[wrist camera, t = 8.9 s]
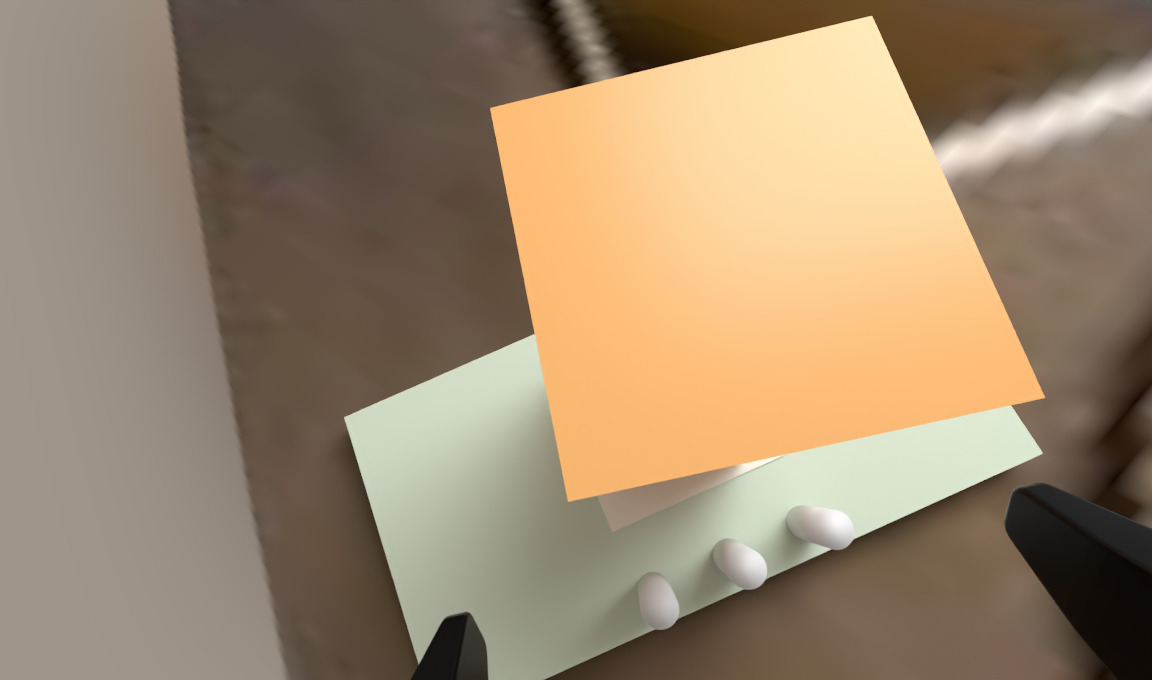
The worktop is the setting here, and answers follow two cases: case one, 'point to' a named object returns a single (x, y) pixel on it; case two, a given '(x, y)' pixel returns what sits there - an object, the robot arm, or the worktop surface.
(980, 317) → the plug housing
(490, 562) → the board
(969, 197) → the worktop surface
